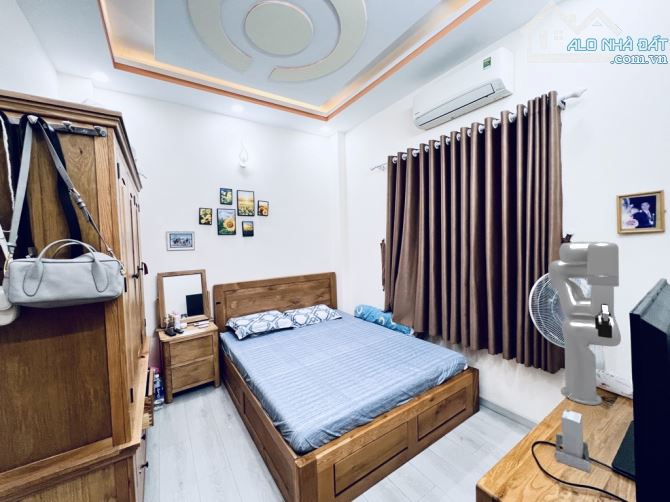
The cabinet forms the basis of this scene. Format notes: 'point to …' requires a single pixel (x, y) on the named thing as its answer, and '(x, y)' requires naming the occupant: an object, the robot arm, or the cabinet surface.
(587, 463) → the socket collar
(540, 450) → the cabinet surface
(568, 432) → the skincare box
